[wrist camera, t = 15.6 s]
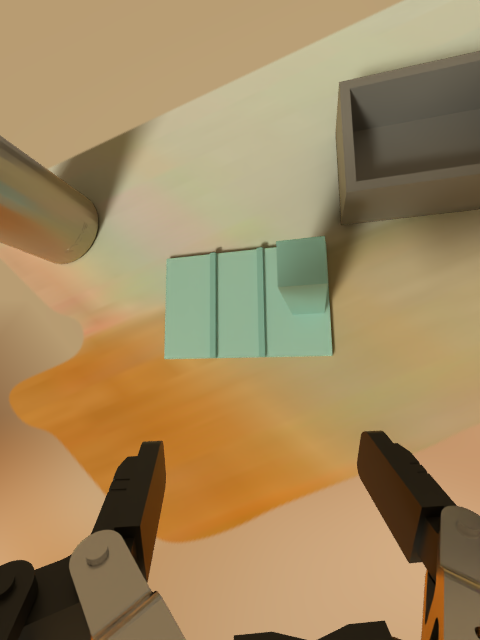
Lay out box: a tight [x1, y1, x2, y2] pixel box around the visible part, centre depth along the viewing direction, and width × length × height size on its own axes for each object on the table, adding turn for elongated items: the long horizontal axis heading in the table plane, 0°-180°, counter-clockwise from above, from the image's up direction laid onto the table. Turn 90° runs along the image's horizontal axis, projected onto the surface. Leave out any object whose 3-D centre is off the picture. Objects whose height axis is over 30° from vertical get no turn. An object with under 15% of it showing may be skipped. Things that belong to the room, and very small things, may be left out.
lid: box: [164, 236, 332, 359], centre depth 26 cm, size 17×11×12 cm, turn 91°
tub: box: [336, 51, 480, 225], centre depth 26 cm, size 16×10×6 cm, turn 91°
